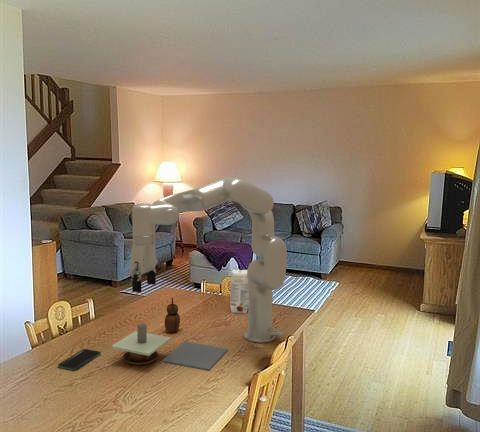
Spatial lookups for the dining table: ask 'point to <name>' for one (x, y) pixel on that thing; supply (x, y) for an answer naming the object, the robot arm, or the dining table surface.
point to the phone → (79, 360)
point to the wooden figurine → (172, 318)
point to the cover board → (141, 347)
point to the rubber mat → (195, 355)
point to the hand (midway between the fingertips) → (144, 287)
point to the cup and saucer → (139, 358)
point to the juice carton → (239, 291)
